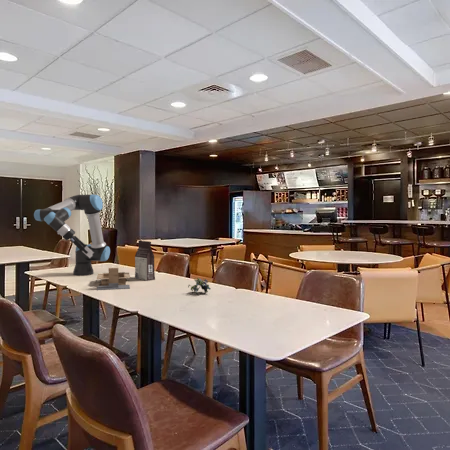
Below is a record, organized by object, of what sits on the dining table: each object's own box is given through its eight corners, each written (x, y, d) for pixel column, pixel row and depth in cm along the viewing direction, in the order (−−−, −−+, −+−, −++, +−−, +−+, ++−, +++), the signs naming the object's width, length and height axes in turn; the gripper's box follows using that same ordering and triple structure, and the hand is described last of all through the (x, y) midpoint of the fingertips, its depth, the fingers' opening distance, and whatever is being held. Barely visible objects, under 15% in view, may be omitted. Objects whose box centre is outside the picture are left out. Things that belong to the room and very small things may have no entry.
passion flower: (205, 301, 227) (215, 286, 223) (192, 301, 219) (202, 285, 215) (196, 288, 234) (206, 274, 230) (183, 288, 226) (193, 273, 222)
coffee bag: (156, 279, 272) (156, 241, 271) (146, 281, 266) (146, 241, 265) (143, 276, 284) (143, 240, 283) (133, 278, 277) (133, 240, 276)
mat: (97, 286, 243) (97, 286, 243) (129, 285, 249) (129, 284, 249) (97, 290, 232) (97, 289, 232) (130, 288, 238) (130, 287, 238)
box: (108, 286, 243) (108, 268, 242) (118, 285, 244) (118, 267, 244) (108, 288, 237) (108, 269, 236) (118, 287, 239) (118, 268, 238)
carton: (98, 280, 268) (98, 273, 268) (128, 278, 274) (128, 272, 274) (96, 286, 243) (96, 279, 243) (130, 285, 250) (130, 277, 249)
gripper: (64, 235, 246) (88, 257, 251) (59, 238, 222) (86, 262, 227) (72, 227, 247) (96, 249, 252) (69, 229, 223) (95, 253, 229)
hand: (91, 255), depth 240 cm, fingers open, 13 cm apart
